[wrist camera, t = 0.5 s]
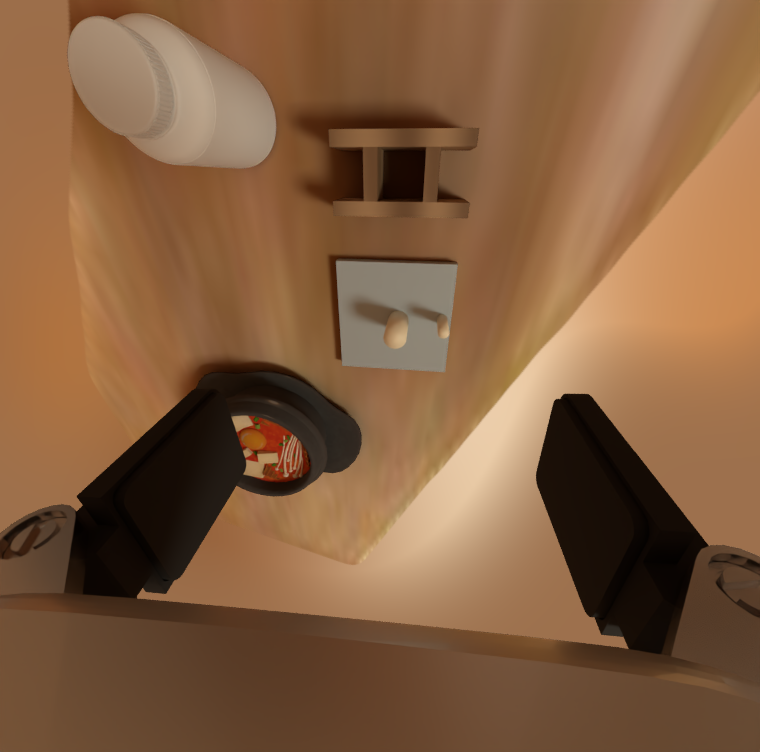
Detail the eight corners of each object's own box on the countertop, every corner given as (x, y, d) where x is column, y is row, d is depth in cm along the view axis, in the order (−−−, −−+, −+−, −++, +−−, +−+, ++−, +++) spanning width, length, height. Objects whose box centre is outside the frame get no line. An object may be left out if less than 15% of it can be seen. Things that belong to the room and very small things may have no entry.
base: (338, 258, 37) (323, 272, 32) (456, 262, 36) (461, 277, 31) (344, 361, 44) (332, 386, 39) (444, 367, 43) (446, 394, 38)
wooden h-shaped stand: (345, 210, 35) (333, 215, 31) (341, 135, 32) (328, 129, 27) (462, 212, 34) (467, 218, 29) (471, 134, 30) (479, 127, 26)
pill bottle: (247, 43, 29) (107, -60, 16) (293, 146, 33) (207, 128, 20) (179, 90, 31) (10, 33, 19) (229, 182, 35) (114, 187, 22)
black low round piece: (380, 397, 47) (371, 438, 39) (345, 482, 56) (333, 527, 49) (203, 337, 45) (161, 368, 38) (199, 435, 55) (165, 474, 48)
